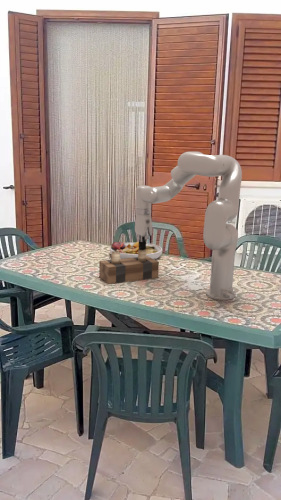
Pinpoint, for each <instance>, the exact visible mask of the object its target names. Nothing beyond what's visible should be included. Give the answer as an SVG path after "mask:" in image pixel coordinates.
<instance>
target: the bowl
mask: <svg viewBox="0 0 281 500" xmlns="http://www.w3.org/2000/svg"><path fill="white" fill-rule="evenodd" d="M138 249H139V241H136V242H134V241H133V242H131V241H130V242H122V241H114V242H113V243H112V244H111V246H110V247H109V253H110V254H111V255H112V252H113V251H118V252H120V259H124V258H134V257H138ZM146 250H147V252H146V256H148V257H150V258H152V259H154V260H157V259H158V258H160V256H161V255H162V253H163V248H162V247H161V246H160V245H157V244H153V243H148V242H146Z"/></svg>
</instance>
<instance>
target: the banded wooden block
mask: <svg viewBox="0 0 281 500" xmlns="http://www.w3.org/2000/svg"><path fill="white" fill-rule="evenodd" d="M98 262H99V263H98V264H99V273H98V274H99V275H98V276H99V278H100V279H101V280H102V281H104V282H105V283H107V284H108V285H114V284H121V283H127V282H129V283H130V282H135V281H144V280H153V279H158V278H159V268H160V267H159V266H160V261H158V260H157V259H152V258H150V257H148V256H146V261H143V262H139V261H138V257H134V258H124V259H120V264H115V265H113V264H112V259H107V260H99V261H98Z"/></svg>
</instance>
